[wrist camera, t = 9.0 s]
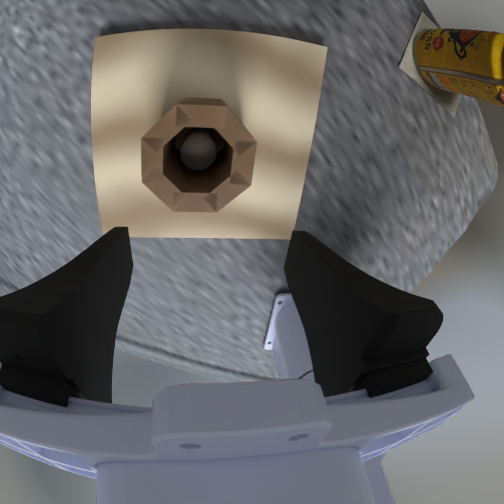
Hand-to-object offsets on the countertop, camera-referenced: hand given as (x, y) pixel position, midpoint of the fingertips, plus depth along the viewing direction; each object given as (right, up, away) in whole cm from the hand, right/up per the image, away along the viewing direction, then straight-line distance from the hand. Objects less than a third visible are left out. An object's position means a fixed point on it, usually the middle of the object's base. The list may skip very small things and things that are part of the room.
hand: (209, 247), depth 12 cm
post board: (-2, +8, +7) cm, 11 cm away
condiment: (+19, +17, +4) cm, 26 cm away
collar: (-2, +8, +6) cm, 10 cm away
